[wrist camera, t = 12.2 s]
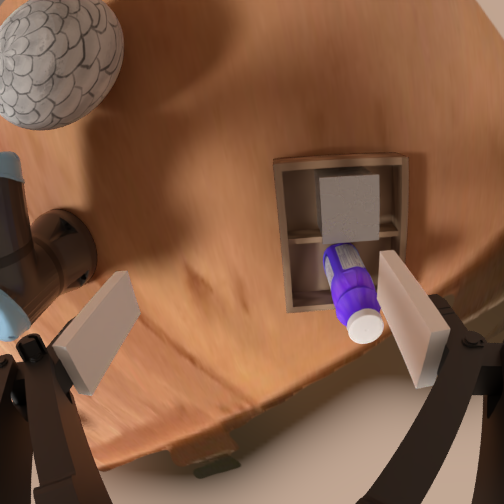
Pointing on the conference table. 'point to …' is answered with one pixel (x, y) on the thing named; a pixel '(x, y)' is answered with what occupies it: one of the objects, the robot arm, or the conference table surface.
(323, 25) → the conference table surface
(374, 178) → the block
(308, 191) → the crate
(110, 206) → the conference table surface
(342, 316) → the bottle
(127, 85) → the conference table surface
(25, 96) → the decorative sphere
